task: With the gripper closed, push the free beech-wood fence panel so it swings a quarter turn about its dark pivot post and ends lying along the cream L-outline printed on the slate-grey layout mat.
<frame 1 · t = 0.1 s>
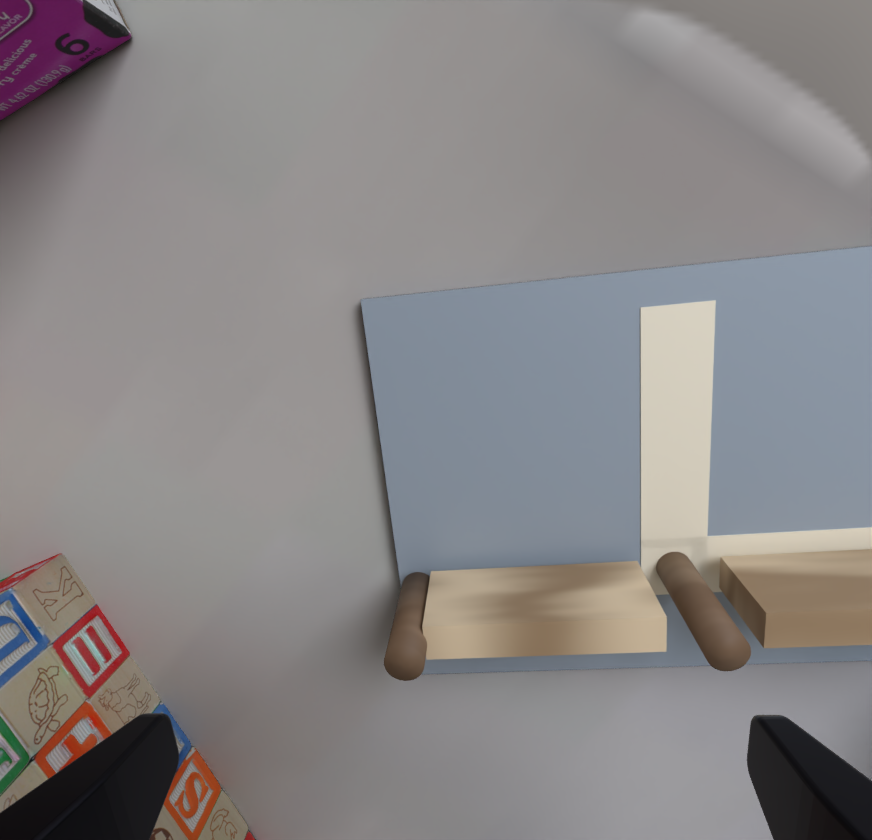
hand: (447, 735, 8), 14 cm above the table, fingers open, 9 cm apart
layout mat: (669, 482, 22), on the table
stack of blocks: (134, 733, 29), on the table
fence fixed: (668, 558, 23), resting on layout mat
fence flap: (521, 616, 20), point 4 cm above the table, hinge at 90.0°
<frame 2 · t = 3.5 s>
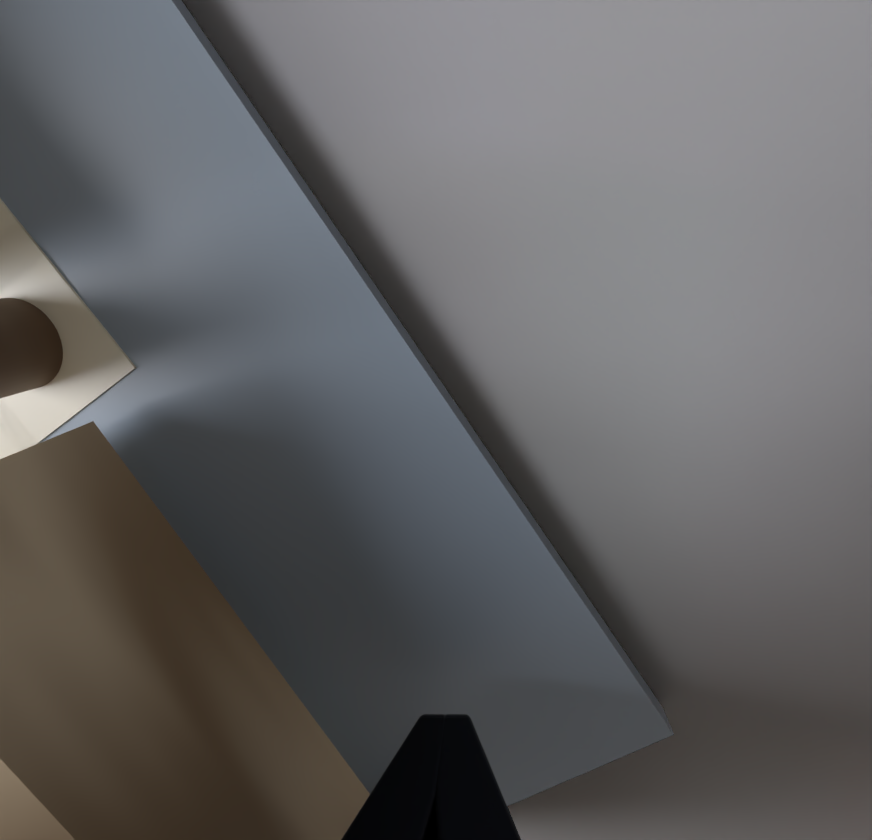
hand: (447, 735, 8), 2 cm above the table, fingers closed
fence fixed: (51, 338, 9), resting on layout mat
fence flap: (167, 817, 7), point 4 cm above the table, hinge at 85.7°, touching gripper
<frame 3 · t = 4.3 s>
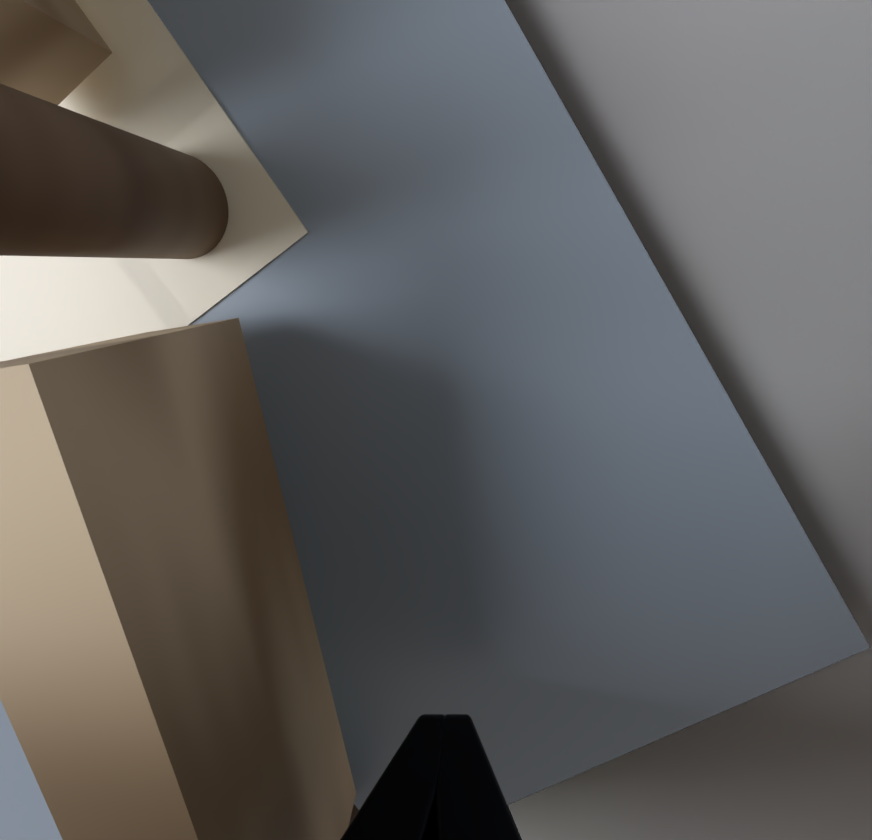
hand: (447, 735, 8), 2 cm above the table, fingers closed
layout mat: (48, 339, 9), on the table
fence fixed: (202, 211, 8), resting on layout mat
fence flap: (202, 746, 7), point 4 cm above the table, hinge at 64.6°, touching gripper
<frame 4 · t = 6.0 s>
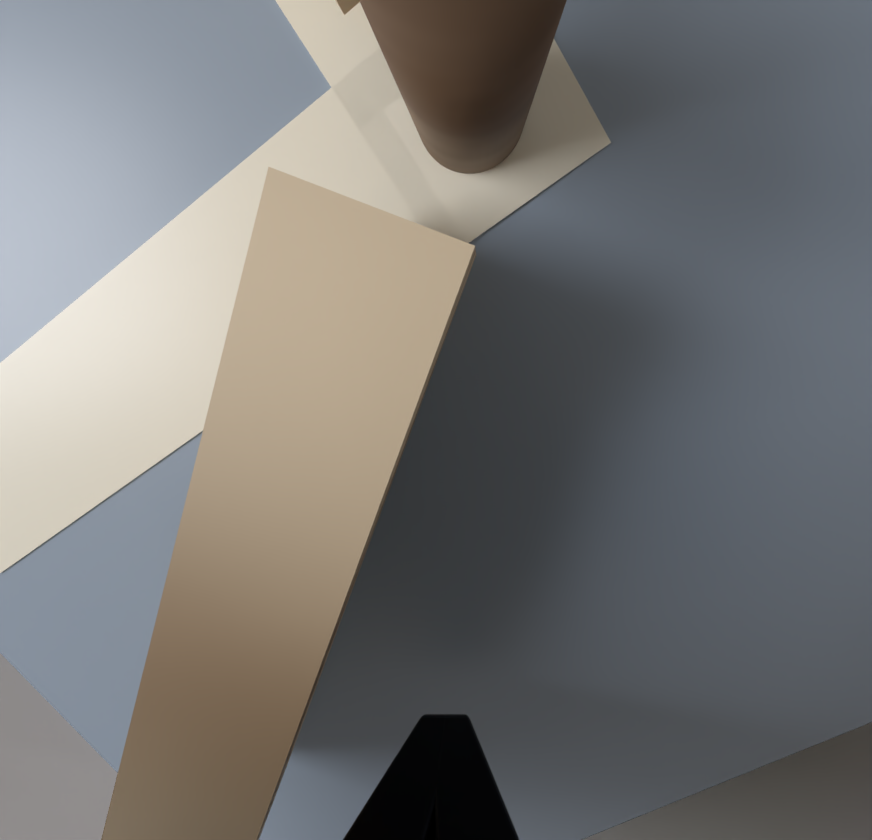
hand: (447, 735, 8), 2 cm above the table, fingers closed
layout mat: (280, 271, 8), on the table
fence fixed: (471, 127, 8), resting on layout mat
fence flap: (259, 654, 6), point 4 cm above the table, hinge at 35.7°, touching gripper
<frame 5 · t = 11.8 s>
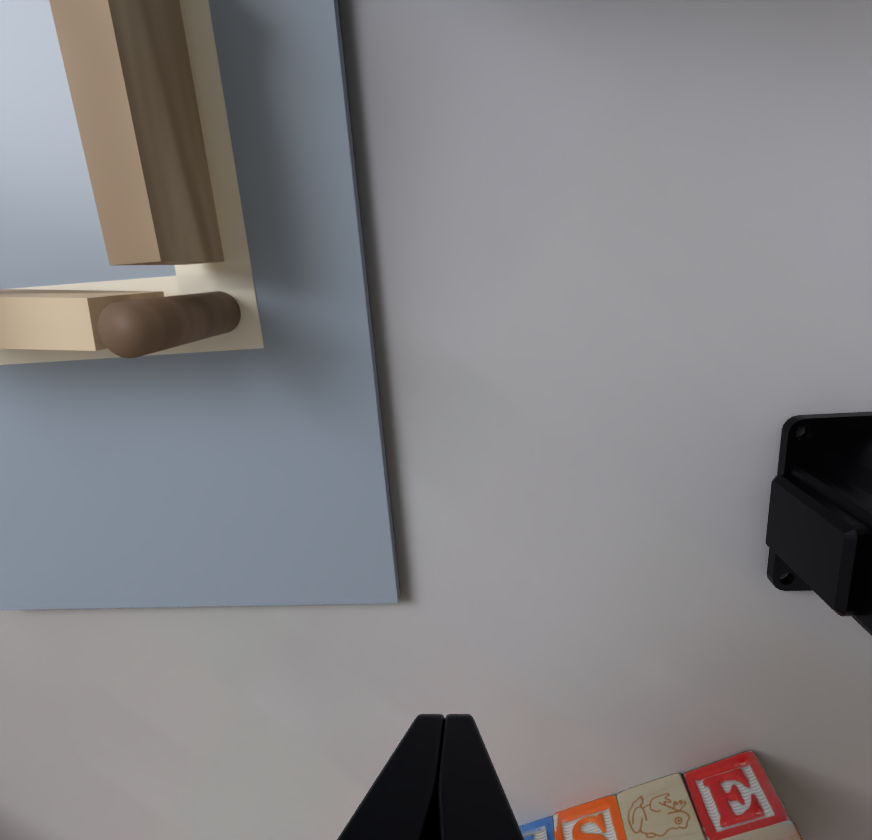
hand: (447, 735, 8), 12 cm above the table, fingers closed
layout mat: (135, 317, 19), on the table
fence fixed: (229, 310, 19), resting on layout mat
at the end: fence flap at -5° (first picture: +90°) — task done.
